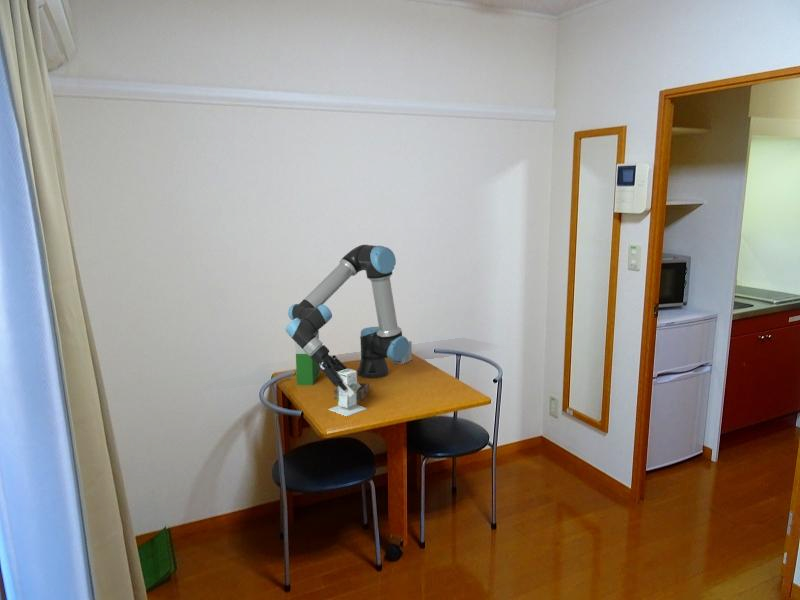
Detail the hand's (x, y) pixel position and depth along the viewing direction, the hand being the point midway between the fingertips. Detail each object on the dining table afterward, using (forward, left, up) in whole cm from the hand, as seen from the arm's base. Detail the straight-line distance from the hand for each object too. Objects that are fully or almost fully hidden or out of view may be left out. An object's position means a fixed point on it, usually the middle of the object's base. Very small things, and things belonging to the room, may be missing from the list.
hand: (355, 391), depth 231 cm
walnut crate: (-10, -14, -8) cm, 19 cm away
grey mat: (+2, -3, -8) cm, 9 cm away
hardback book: (-12, -46, -8) cm, 49 cm away
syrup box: (+2, -3, -6) cm, 7 cm away
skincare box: (-62, -33, -8) cm, 71 cm away
